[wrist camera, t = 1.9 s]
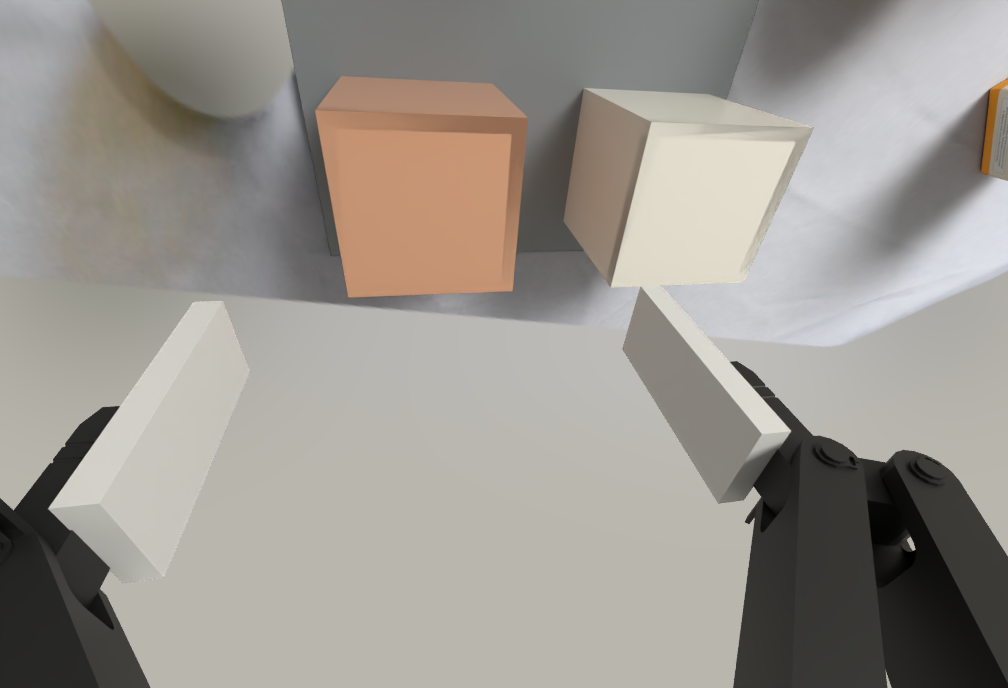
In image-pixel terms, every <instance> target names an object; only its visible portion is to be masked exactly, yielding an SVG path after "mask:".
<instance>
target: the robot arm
mask: <svg viewBox="0 0 1008 688" xmlns="http://www.w3.org/2000/svg"><path fill="white" fill-rule="evenodd" d="M623 351H624V352H625V354H626V356H627V357H628V359H629V360H630V362H631V364H632V365H633V367H634V369H635V370H636V372H637V373H638V375H639V377H640V378H641V380H642V381H643V383H644V385H645V386H646V388H647V389H648V391H649V393H650V394H651V396H652V398H653V399H654V401H655V402H656V404H657V406H658V407H659V409H660V410H661V412H662V413H663V415H664V417H665V419H666V420H667V422H668V423H669V425H670V427H671V428H672V430H673V431H674V433H675V435H676V436H677V438H678V439H679V441H680V443H681V444H682V446H683V448H684V449H685V451H686V452H687V454H688V456H689V457H690V459H691V460H692V462H693V464H694V465H695V467H696V468H697V470H698V472H699V473H700V475H701V477H702V478H703V480H704V481H705V483H706V485H707V486H708V488H709V489H710V491H711V493H712V494H713V496H714V497H715V499H716V501H717V502H718V503H726V502H734V501H741V500H744V499H745V498H746V496H747V495H748V493H749V492H750V491H751V489H752V488H753V486H754V487H755V489H756V490H757V492H758V493H759V494H760V496H761V498H760V500H759V501H758V503H757V504H756V505H755V507H754V508H753V509H752V511H751V512H750V514H749V515H748V516H747V518H746V521H745V522H746V523H748V524H750V522H751V521H752V520H753V518H755V521H754V530H753V537H752V545H751V553H750V561H749V568H748V576H747V584H746V592H745V600H744V608H743V615H742V623H741V631H740V639H739V647H738V655H737V662H736V670H735V678H734V686H733V688H887V681H886V672H887V675H888V678H889V681H890V684H891V687H892V688H1008V556H1007V555H1006V553H1005V551H1004V550H1003V548H1002V547H1001V545H1000V544H999V542H998V541H997V539H996V537H995V536H994V534H993V533H992V531H991V530H990V528H989V526H988V525H987V523H986V522H985V520H984V519H983V517H982V516H981V514H980V512H979V511H978V509H977V508H976V506H975V505H974V503H973V501H972V500H971V498H970V497H969V495H968V494H967V492H966V491H965V489H964V488H963V486H962V484H961V483H960V481H959V480H958V479H957V478H956V476H955V475H954V474H953V473H952V472H951V471H950V470H949V469H948V468H946V467H945V466H944V465H942V464H941V463H940V462H938V461H936V460H935V459H932V458H931V457H928V456H927V455H924V454H921V453H918V452H915V451H908V450H902V451H898V452H896V453H895V454H894V455H893V456H892V457H891V458H890V459H889V460H888V461H887V462H886V463H885V462H879V461H874V460H867V459H862V458H857V456H856V455H855V454H854V453H853V452H852V451H850V450H849V449H848V448H847V447H845V446H844V445H843V444H840V443H838V442H836V441H834V440H832V439H830V438H826V437H822V436H813V435H812V434H811V433H810V432H809V431H808V430H807V429H806V428H805V427H804V426H803V424H802V423H801V422H800V421H799V420H798V419H797V418H796V417H795V416H794V415H793V414H792V413H791V412H790V410H789V409H788V408H787V407H786V406H785V405H784V404H783V403H782V402H781V401H780V400H779V399H778V398H775V395H774V393H773V392H772V391H771V390H770V389H769V388H768V387H765V384H764V383H763V382H762V381H761V379H759V378H758V376H757V375H756V374H755V373H754V372H753V371H751V370H750V369H748V368H747V367H745V366H744V365H742V364H740V363H739V362H737V361H735V362H729V361H728V360H727V359H726V357H724V355H723V354H722V353H721V352H720V351H719V350H718V349H717V347H716V346H715V345H714V344H713V343H712V342H711V341H710V340H709V338H708V337H707V336H706V335H705V334H704V333H703V332H702V331H701V330H700V328H699V327H698V326H697V325H696V324H695V323H694V322H693V321H692V319H691V318H690V317H689V316H688V315H687V314H686V313H685V312H684V311H683V309H682V308H681V307H680V306H679V305H678V304H677V303H676V302H675V300H674V299H673V298H672V297H671V296H670V295H669V294H668V293H667V292H666V290H665V289H664V288H663V287H662V286H641V287H640V290H639V294H638V297H637V301H636V304H635V307H634V311H633V314H632V318H631V321H630V325H629V328H628V332H627V335H626V339H625V342H624V345H623ZM249 373H250V371H249V368H248V366H247V363H246V360H245V358H244V355H243V352H242V350H241V347H240V345H239V342H238V340H237V337H236V334H235V332H234V329H233V326H232V324H231V321H230V318H229V316H228V313H227V311H226V308H225V305H224V303H223V301H206V302H193V304H192V305H191V306H190V308H189V309H188V311H187V312H186V314H185V315H184V316H183V318H182V319H181V321H180V322H179V324H178V325H177V326H176V328H175V329H174V331H173V332H172V333H171V335H170V336H169V338H168V339H167V341H166V342H165V344H164V345H163V346H162V348H161V349H160V351H159V352H158V353H157V355H156V356H155V358H154V359H153V361H152V362H151V363H150V365H149V366H148V368H147V369H146V370H145V372H144V373H143V375H142V376H141V378H140V379H139V380H138V382H137V383H136V385H135V386H134V388H133V389H132V390H131V392H130V393H129V395H128V396H127V397H126V399H125V400H124V402H123V403H122V405H121V406H115V407H102V408H101V409H100V410H99V411H97V412H96V413H94V414H93V415H92V416H90V417H89V418H88V419H86V420H85V421H84V422H83V423H81V424H80V425H79V426H78V428H77V429H76V430H75V431H74V433H73V434H72V435H71V437H70V438H69V439H68V441H67V442H66V443H65V445H66V446H65V447H62V448H61V450H60V451H59V452H58V454H57V455H56V456H55V458H54V459H53V463H50V464H49V465H48V467H47V468H46V469H45V471H44V472H43V473H42V475H41V476H40V477H39V478H38V480H37V481H36V482H35V483H34V485H33V486H32V488H31V489H30V490H29V491H28V493H27V494H26V495H25V496H24V498H23V499H22V500H21V502H20V503H19V504H18V506H17V507H16V508H15V509H14V510H12V509H11V508H10V507H9V506H8V505H7V504H6V503H5V502H3V500H1V499H0V688H150V686H149V684H148V682H147V679H146V677H145V675H144V673H143V671H142V669H141V667H140V665H139V663H138V661H137V658H136V657H135V654H134V652H133V650H132V648H131V646H130V644H129V642H128V640H127V638H126V636H125V633H124V631H123V629H122V627H121V625H120V623H119V621H118V619H117V617H116V615H115V612H114V610H113V608H112V606H111V604H110V602H109V600H108V598H107V596H106V595H105V594H104V593H103V592H102V591H101V590H100V587H101V585H102V583H103V581H104V579H105V577H106V576H107V573H108V572H109V570H110V571H111V572H112V573H113V574H114V575H115V576H116V577H117V578H118V579H119V580H120V581H121V582H122V583H128V582H135V581H143V580H150V579H158V578H164V576H165V574H166V571H167V569H168V566H169V564H170V562H171V559H172V557H173V555H174V552H175V550H176V547H177V545H178V543H179V540H180V538H181V535H182V533H183V530H184V528H185V526H186V524H187V521H188V519H189V516H190V514H191V511H192V509H193V507H194V504H195V502H196V500H197V497H198V495H199V492H200V490H201V488H202V485H203V483H204V481H205V478H206V476H207V473H208V471H209V469H210V466H211V464H212V462H213V459H214V457H215V454H216V452H217V450H218V447H219V445H220V442H221V440H222V438H223V435H224V433H225V431H226V428H227V426H228V423H229V421H230V419H231V416H232V414H233V412H234V409H235V406H236V404H237V402H238V400H239V397H240V395H241V392H242V390H243V387H244V385H245V383H246V381H247V378H248V376H249ZM910 536H911V538H912V540H913V542H914V545H915V549H916V550H914V551H912V549H911V548H910V546H909V544H908V542H907V539H908V538H909V537H910ZM885 669H886V671H885Z"/></svg>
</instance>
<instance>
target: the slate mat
mask: <svg viewBox="0 0 1008 688" xmlns="http://www.w3.org/2000/svg"><path fill="white" fill-rule="evenodd" d="M281 1H282V6H283V11H284V16H285V21H286V27H287V31H288V37H289V42H290V47H291V52H292V58H293V63H294V68H295V73H296V78H297V83H298V89H299V94H300V99H301V104H302V109H303V114H304V120H305V125H306V130H307V135H308V140H309V145H310V151H311V156H312V161H313V166H314V171H315V177H316V182H317V187H318V192H319V197H320V202H321V208H322V213H323V218H324V223H325V228H326V233H327V239H328V244H329V249H330V254H331V256H341V253H340V248H339V242H338V237H337V231H336V225H335V220H334V214H333V208H332V203H331V197H330V192H329V186H328V180H327V175H326V169H325V163H324V158H323V152H322V147H321V141H320V135H319V130H318V124H317V119H316V113H315V110H316V108H317V107H318V106H319V104H320V103H321V102H322V101H323V99H324V98H325V97H326V95H327V94H328V93H329V91H330V90H331V89H332V87H333V86H334V85H335V84H336V82H337V81H338V80H339V78H340V77H341V76H347V77H368V78H388V79H409V80H429V81H450V82H470V83H491V84H493V85H495V86H496V87H497V88H498V89H499V90H500V91H501V92H502V93H503V94H504V95H505V96H506V97H507V98H508V99H509V100H510V101H511V102H512V103H513V104H514V105H515V106H516V107H517V108H518V109H519V110H521V111H522V112H523V113H524V114H525V115H526V116H527V117H528V124H527V135H526V146H525V157H524V169H523V180H522V191H521V202H520V214H519V225H518V236H517V247H516V252H536V251H582V250H584V249H583V248H582V247H581V245H580V244H579V242H578V241H577V240H576V238H575V237H574V235H573V234H572V233H571V231H570V230H569V228H568V227H567V226H566V224H565V223H564V222H563V220H564V214H565V207H566V201H567V194H568V188H569V181H570V175H571V168H572V162H573V155H574V149H575V142H576V136H577V129H578V123H579V116H580V110H581V103H582V97H583V90H584V88H593V89H614V90H634V91H655V92H676V93H696V94H710V95H713V96H716V97H719V98H722V99H725V100H726V99H727V96H728V93H729V90H730V87H731V84H732V81H733V78H734V75H735V72H736V69H737V66H738V63H739V60H740V57H741V54H742V51H743V48H744V45H745V42H746V39H747V36H748V33H749V30H750V27H751V24H752V21H753V17H754V14H755V11H756V8H757V5H758V2H759V0H281Z"/></svg>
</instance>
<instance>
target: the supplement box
mask: <svg viewBox="0 0 1008 688" xmlns="http://www.w3.org/2000/svg"><path fill="white" fill-rule="evenodd" d="M986 124H987V125H986V134H985V142H984V151H983V159H982V168H981V173H983V174H987V175H990V176H993V177H996V178H1000V179H1003V180H1007V181H1008V78H1007V79H1006V80H1004V81H1002V82H1001V83H999V84H998V85H996V86H995V87H993V88H992V89H991V90H990V97H989V107H988V117H987V123H986Z"/></svg>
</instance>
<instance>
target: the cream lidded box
mask: <svg viewBox="0 0 1008 688" xmlns="http://www.w3.org/2000/svg"><path fill="white" fill-rule="evenodd" d="M813 129H814V128H813V127H810V126H807V125H804V124H801V123H798V122H795V121H791V120H788V119H785V118H782V117H779V116H776V115H773V114H769V113H766V112H763V111H760V110H757V109H754V108H750V107H747V106H744V105H741V104H738V103H735V102H732V101H728V100H725V99H722V98H719V97H716V96H713V95H710V94H696V93H676V92H655V91H634V90H614V89H593V88H584V90H583V97H582V103H581V110H580V116H579V123H578V129H577V136H576V142H575V149H574V155H573V162H572V168H571V175H570V181H569V188H568V194H567V201H566V207H565V214H564V220H563V222H564V223H565V224H566V226H567V227H568V228H569V230H570V231H571V233H572V234H573V235H574V237H575V238H576V240H577V241H578V242H579V244H580V245H581V247H582V248H583V249H584V251H585V252H586V254H587V255H588V256H589V258H590V259H591V261H592V262H593V263H594V265H595V266H596V267H597V269H598V270H599V272H600V273H601V274H602V276H603V277H604V279H605V280H606V281H607V283H608V284H609V286H610V287H634V286H660V285H686V284H712V283H738V282H744V280H745V278H746V276H747V274H748V272H749V269H750V267H751V265H752V263H753V261H754V258H755V256H756V254H757V252H758V250H759V247H760V245H761V243H762V241H763V239H764V237H765V234H766V232H767V230H768V228H769V226H770V223H771V221H772V219H773V217H774V215H775V212H776V210H777V208H778V206H779V204H780V201H781V199H782V197H783V195H784V193H785V190H786V188H787V186H788V184H789V182H790V179H791V177H792V175H793V173H794V171H795V168H796V166H797V164H798V162H799V160H800V157H801V155H802V153H803V151H804V149H805V146H806V144H807V142H808V140H809V138H810V135H811V133H812V131H813Z"/></svg>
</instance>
